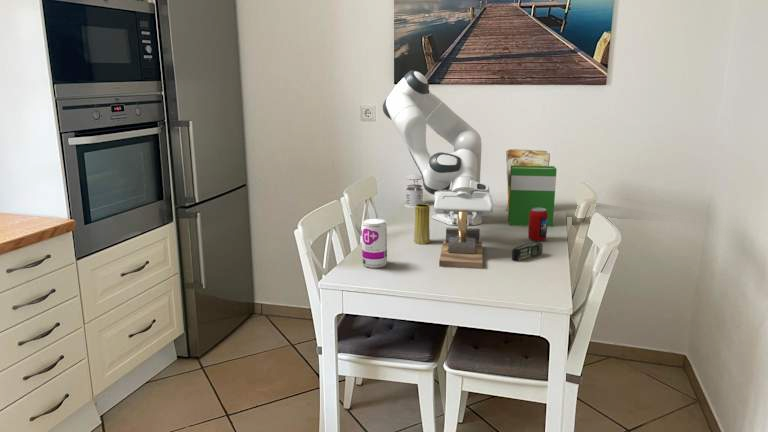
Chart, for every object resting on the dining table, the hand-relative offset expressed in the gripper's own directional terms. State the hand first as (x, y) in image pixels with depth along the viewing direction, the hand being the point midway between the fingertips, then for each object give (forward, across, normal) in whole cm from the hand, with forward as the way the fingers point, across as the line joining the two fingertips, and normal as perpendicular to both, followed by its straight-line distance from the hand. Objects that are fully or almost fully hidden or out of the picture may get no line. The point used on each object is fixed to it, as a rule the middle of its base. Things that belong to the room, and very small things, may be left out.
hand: (462, 224), depth 197 cm
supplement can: (+17, -28, 0) cm, 33 cm away
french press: (-45, -25, +62) cm, 81 cm away
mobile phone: (+6, +23, +11) cm, 26 cm away
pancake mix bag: (-43, +27, +60) cm, 78 cm away
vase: (-3, -15, +20) cm, 25 cm away
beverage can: (-10, +28, +27) cm, 40 cm away
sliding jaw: (+6, 0, +7) cm, 10 cm away
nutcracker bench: (+8, 0, +8) cm, 12 cm away
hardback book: (-26, +27, +44) cm, 58 cm away
